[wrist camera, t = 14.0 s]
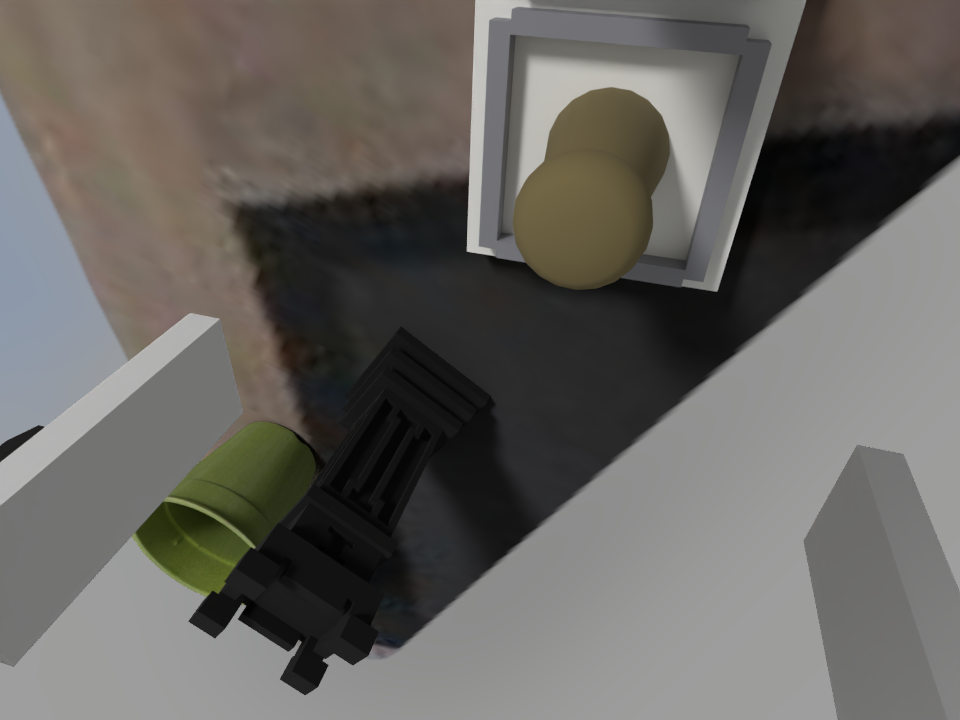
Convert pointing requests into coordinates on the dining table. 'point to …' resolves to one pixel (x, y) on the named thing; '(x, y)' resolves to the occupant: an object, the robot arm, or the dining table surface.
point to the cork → (593, 190)
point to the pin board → (649, 73)
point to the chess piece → (347, 515)
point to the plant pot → (227, 506)
